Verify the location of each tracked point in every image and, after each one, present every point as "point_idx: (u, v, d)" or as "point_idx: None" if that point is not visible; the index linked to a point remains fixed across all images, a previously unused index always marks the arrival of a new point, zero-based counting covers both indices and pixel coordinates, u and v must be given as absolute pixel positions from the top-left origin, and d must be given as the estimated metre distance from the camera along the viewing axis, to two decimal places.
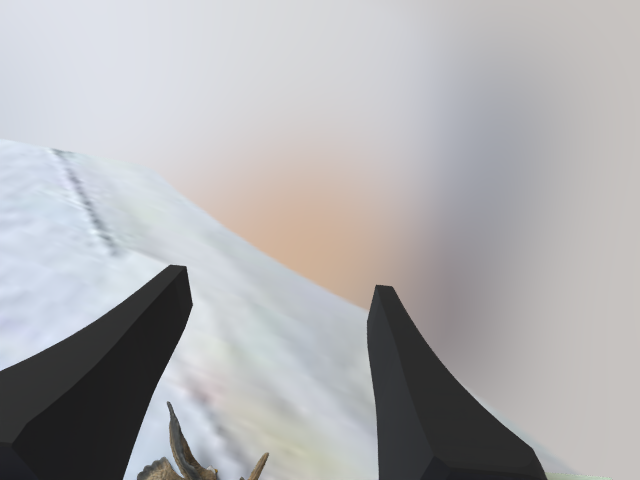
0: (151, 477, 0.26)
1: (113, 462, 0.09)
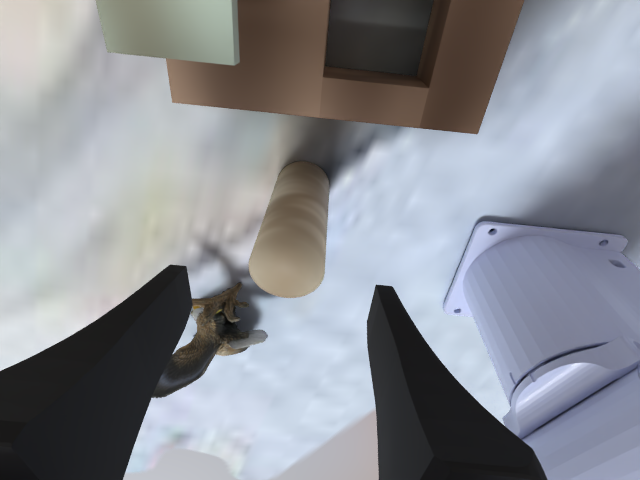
0: None
1: (113, 462, 0.09)
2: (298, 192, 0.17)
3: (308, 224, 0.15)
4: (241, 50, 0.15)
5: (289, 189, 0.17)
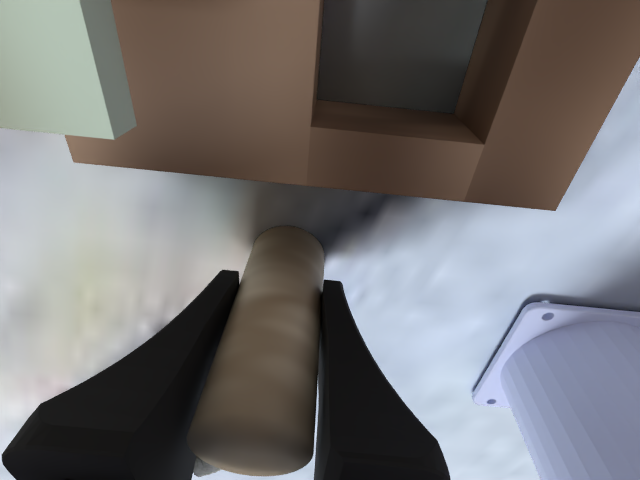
0: None
1: (184, 468, 0.09)
2: (276, 291, 0.11)
3: (287, 366, 0.09)
4: (173, 83, 0.09)
5: (263, 285, 0.12)
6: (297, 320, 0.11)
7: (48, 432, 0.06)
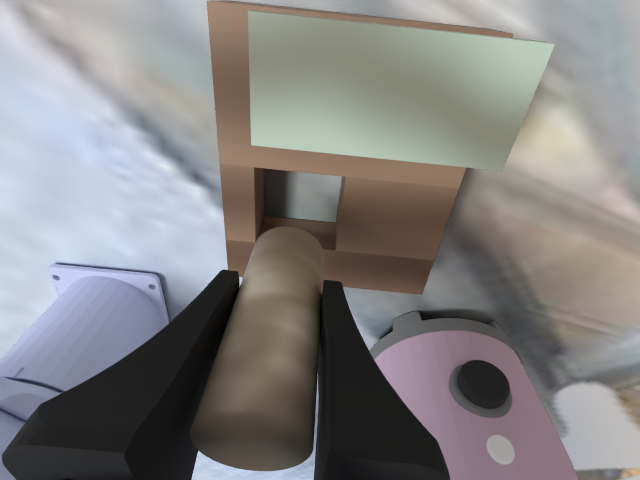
0: None
1: (184, 468, 0.09)
2: (283, 291, 0.12)
3: (294, 366, 0.10)
4: None
5: (270, 284, 0.12)
6: (302, 322, 0.11)
7: (48, 432, 0.06)
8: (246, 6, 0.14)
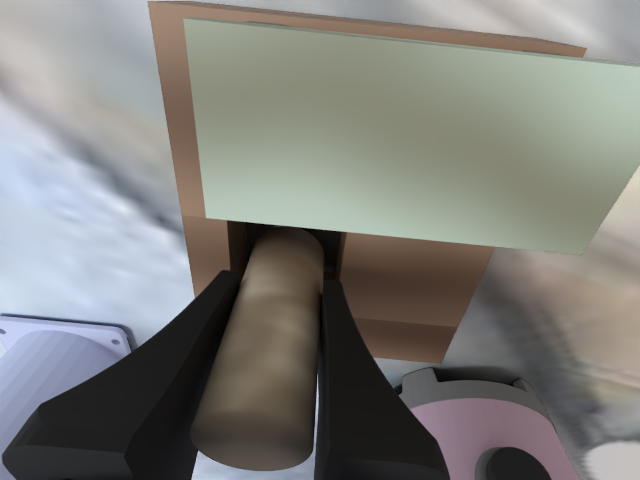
0: None
1: (184, 468, 0.09)
2: (283, 291, 0.12)
3: (294, 366, 0.10)
4: None
5: (270, 284, 0.12)
6: (302, 321, 0.11)
7: (48, 432, 0.06)
8: (204, 9, 0.09)
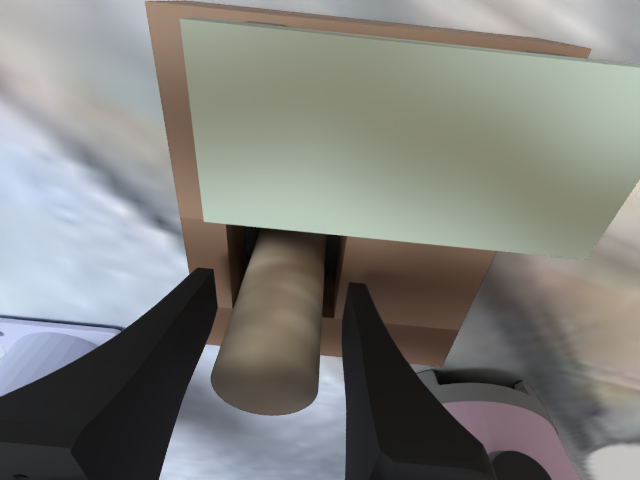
0: None
1: (150, 465, 0.09)
2: (290, 261, 0.13)
3: (301, 321, 0.11)
4: None
5: (278, 255, 0.13)
6: (307, 286, 0.12)
7: None
8: (203, 9, 0.09)
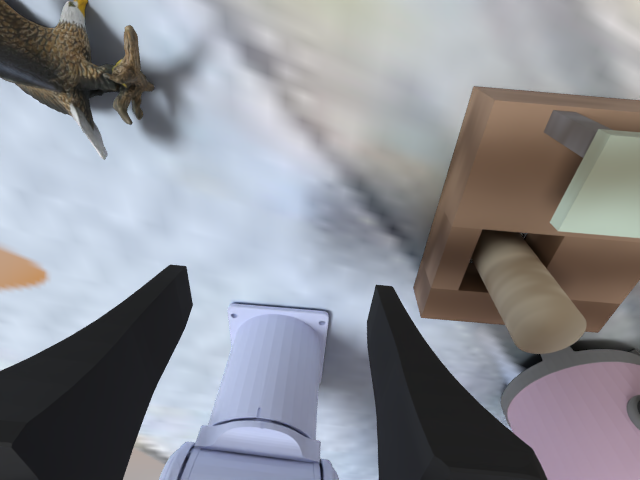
0: None
1: (113, 462, 0.09)
2: (529, 255, 0.19)
3: (564, 292, 0.17)
4: (520, 172, 0.17)
5: (518, 251, 0.19)
6: (548, 271, 0.19)
7: None
8: (528, 104, 0.16)
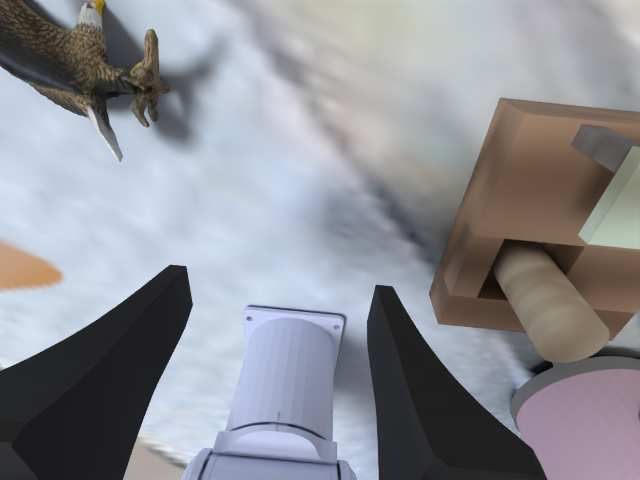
0: None
1: (113, 462, 0.09)
2: (550, 265, 0.19)
3: (586, 302, 0.17)
4: (545, 183, 0.18)
5: (539, 261, 0.20)
6: (569, 281, 0.19)
7: None
8: (557, 117, 0.16)
